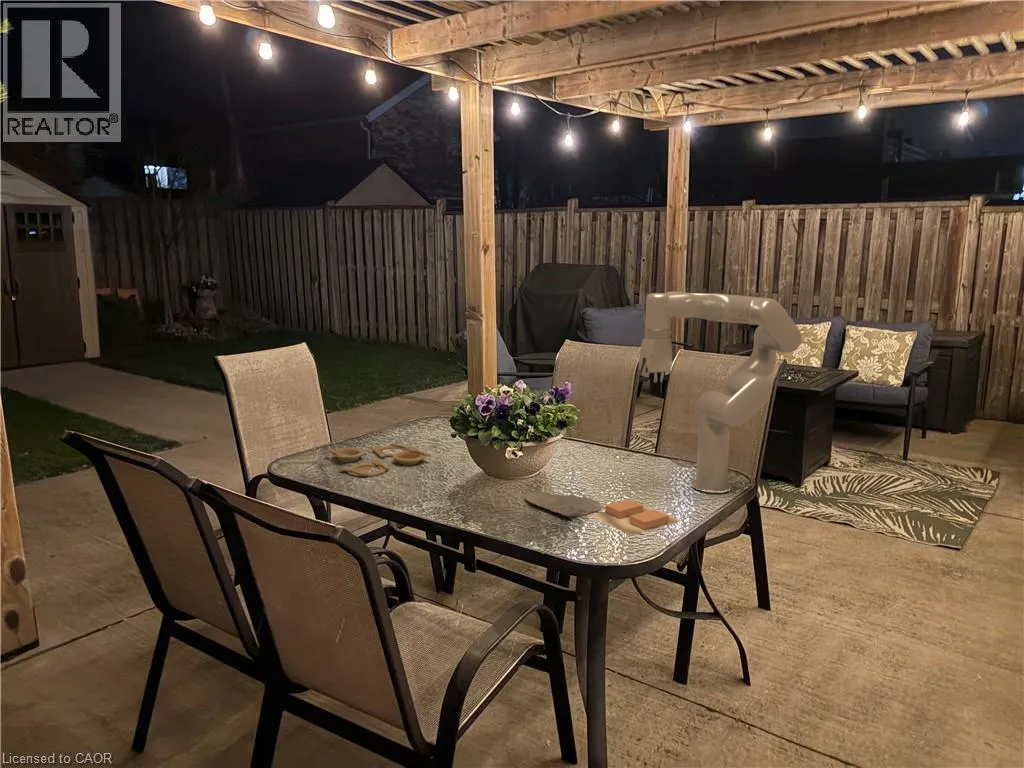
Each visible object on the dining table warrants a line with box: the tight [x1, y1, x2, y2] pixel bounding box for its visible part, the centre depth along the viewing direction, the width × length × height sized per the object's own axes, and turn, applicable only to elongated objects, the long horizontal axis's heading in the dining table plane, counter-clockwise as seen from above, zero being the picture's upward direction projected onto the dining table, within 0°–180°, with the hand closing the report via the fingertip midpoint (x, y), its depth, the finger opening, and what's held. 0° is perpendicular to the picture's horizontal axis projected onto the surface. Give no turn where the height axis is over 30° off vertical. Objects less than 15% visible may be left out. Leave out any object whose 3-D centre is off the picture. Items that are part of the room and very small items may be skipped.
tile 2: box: [629, 508, 670, 530], centre depth 197 cm, size 2×6×9 cm
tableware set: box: [326, 442, 432, 478], centre depth 258 cm, size 35×29×4 cm
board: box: [590, 502, 682, 536], centre depth 202 cm, size 19×17×1 cm
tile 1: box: [604, 498, 644, 519], centre depth 206 cm, size 2×6×9 cm
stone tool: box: [524, 491, 605, 518], centre depth 213 cm, size 20×3×25 cm
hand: (654, 394), depth 218 cm, fingers closed
